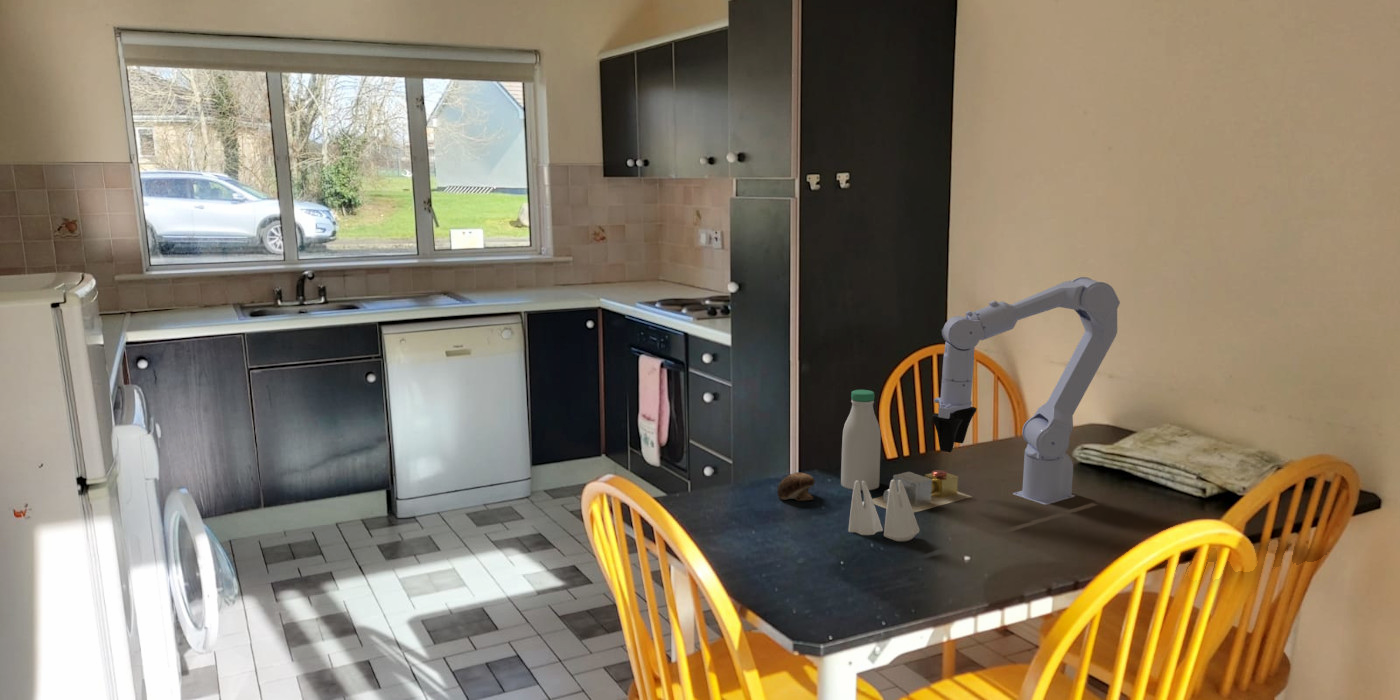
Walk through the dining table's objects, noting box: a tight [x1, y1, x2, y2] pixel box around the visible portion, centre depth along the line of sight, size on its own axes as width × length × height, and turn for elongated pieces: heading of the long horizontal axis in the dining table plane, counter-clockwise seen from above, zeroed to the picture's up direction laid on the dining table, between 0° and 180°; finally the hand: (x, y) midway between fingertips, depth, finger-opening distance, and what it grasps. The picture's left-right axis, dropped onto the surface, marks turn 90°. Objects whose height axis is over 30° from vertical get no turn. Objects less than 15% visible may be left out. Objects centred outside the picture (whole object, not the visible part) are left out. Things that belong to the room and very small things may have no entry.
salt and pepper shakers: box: [848, 479, 920, 542], centre depth 171 cm, size 12×4×11 cm, turn 59°
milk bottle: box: [840, 389, 882, 491], centre depth 198 cm, size 8×8×20 cm
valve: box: [924, 469, 959, 498], centre depth 193 cm, size 8×4×4 cm, turn 124°
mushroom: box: [777, 472, 816, 502], centre depth 191 cm, size 8×8×6 cm
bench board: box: [872, 491, 973, 514], centre depth 191 cm, size 19×10×1 cm, turn 124°
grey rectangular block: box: [882, 471, 932, 507], centre depth 188 cm, size 8×6×5 cm
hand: (951, 446), depth 192 cm, fingers open, 7 cm apart
